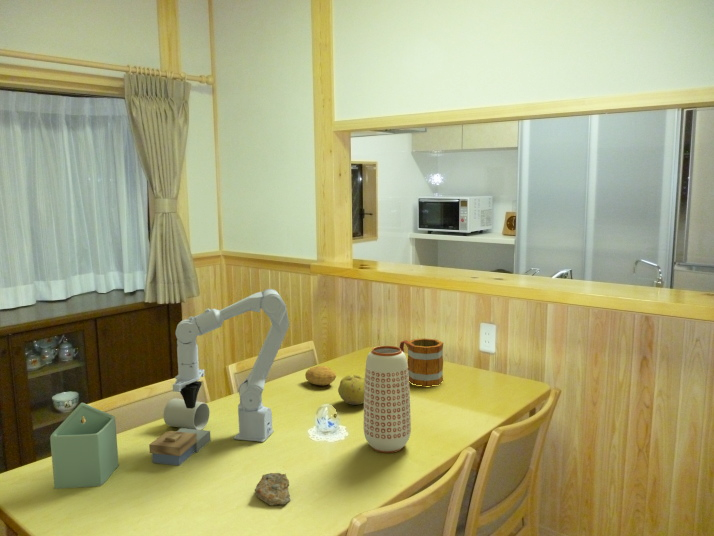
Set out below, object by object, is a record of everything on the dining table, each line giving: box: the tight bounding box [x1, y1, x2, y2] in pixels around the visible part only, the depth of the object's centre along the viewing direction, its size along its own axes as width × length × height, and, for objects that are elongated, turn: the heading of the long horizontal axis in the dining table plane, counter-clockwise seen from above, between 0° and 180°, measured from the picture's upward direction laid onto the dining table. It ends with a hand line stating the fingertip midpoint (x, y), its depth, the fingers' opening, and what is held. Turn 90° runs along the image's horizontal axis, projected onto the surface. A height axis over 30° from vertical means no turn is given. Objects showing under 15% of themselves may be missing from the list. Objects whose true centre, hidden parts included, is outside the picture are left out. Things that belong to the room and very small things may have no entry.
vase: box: [363, 345, 412, 454], centre depth 164 cm, size 13×13×28 cm
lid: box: [148, 430, 197, 456], centre depth 160 cm, size 9×9×3 cm
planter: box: [49, 402, 120, 490], centre depth 147 cm, size 16×8×20 cm, turn 138°
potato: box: [305, 365, 337, 387], centre depth 218 cm, size 9×13×7 cm
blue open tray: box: [151, 445, 196, 466], centre depth 160 cm, size 8×8×3 cm
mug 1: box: [163, 397, 211, 430], centre depth 182 cm, size 12×8×11 cm
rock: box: [254, 472, 291, 506], centre depth 139 cm, size 9×6×10 cm
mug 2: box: [399, 338, 444, 386], centre depth 222 cm, size 20×14×15 cm
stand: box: [176, 428, 212, 453], centre depth 168 cm, size 10×8×3 cm
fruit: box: [337, 373, 365, 405], centre depth 198 cm, size 11×12×10 cm
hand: (190, 407), depth 169 cm, fingers closed
